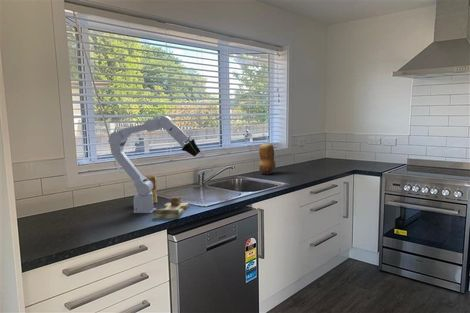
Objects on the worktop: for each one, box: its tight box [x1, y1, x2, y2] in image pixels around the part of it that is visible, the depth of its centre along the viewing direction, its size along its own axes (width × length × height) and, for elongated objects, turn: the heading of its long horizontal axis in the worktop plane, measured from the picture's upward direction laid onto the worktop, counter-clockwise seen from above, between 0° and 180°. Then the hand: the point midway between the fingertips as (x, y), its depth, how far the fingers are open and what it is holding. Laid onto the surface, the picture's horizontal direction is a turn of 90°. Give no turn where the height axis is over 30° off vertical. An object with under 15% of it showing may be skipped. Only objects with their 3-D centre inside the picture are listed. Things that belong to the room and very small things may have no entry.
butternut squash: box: [258, 142, 276, 175], centre depth 280 cm, size 14×13×25 cm
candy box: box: [144, 175, 158, 204], centre depth 197 cm, size 9×4×15 cm, turn 96°
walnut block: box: [170, 195, 181, 206], centre depth 184 cm, size 4×4×4 cm
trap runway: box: [153, 202, 190, 219], centre depth 177 cm, size 12×22×4 cm, turn 175°
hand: (197, 153), depth 176 cm, fingers open, 7 cm apart
